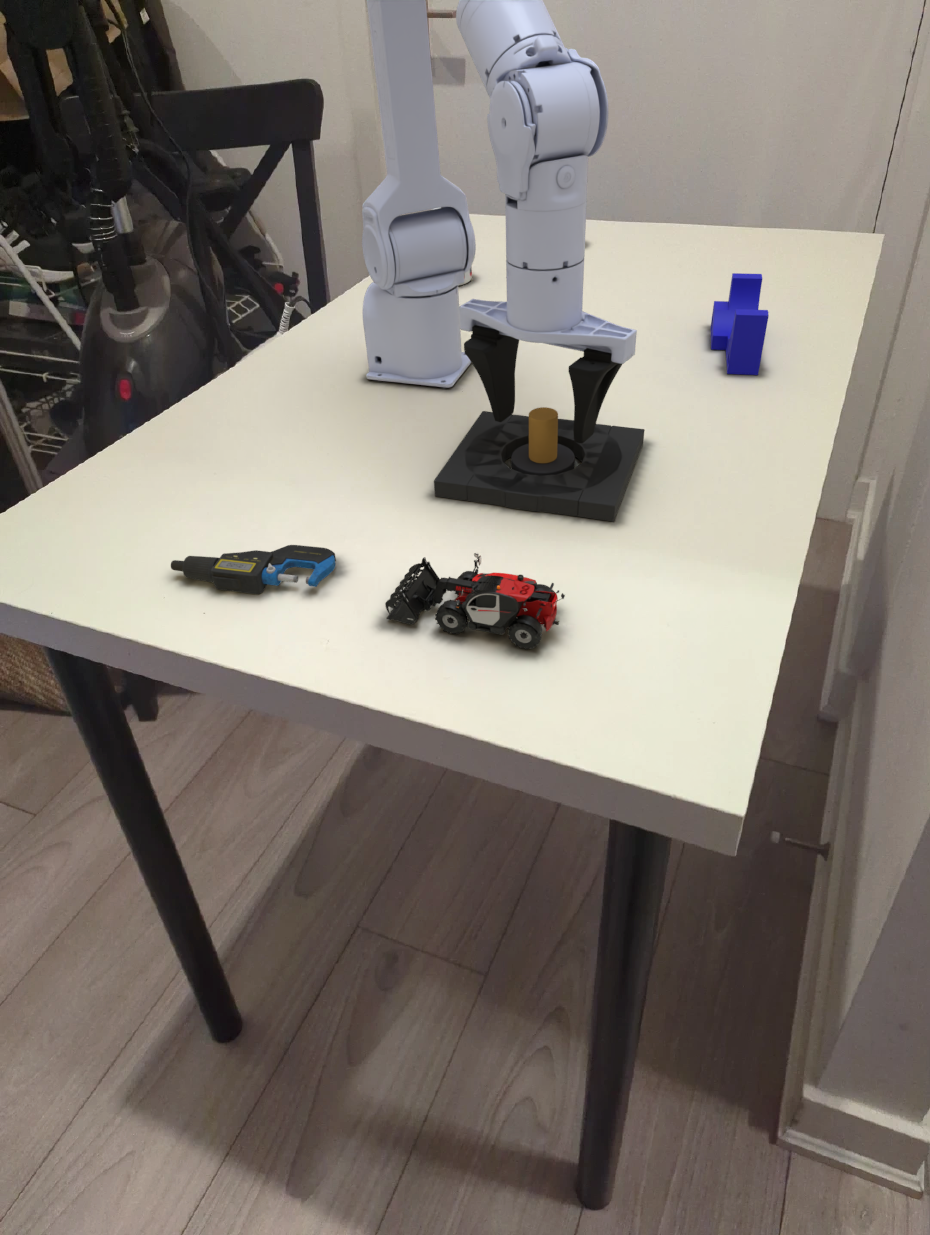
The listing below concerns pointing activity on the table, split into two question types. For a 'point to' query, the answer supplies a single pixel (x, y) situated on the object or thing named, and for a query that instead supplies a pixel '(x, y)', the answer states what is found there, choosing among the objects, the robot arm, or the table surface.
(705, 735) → the table surface
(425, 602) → the loader
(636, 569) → the table surface
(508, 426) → the socket pad
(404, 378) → the robot arm
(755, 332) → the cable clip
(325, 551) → the micrometer
